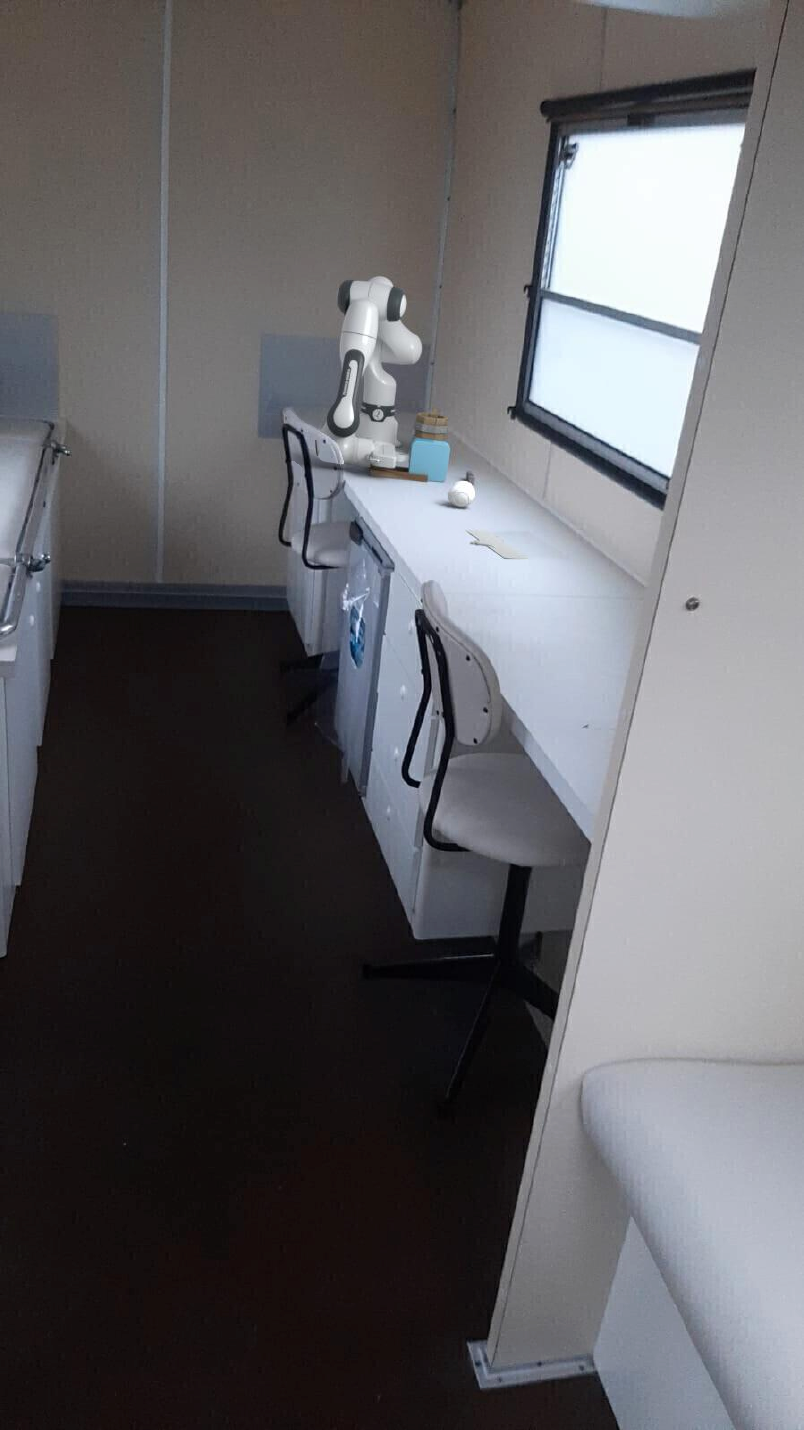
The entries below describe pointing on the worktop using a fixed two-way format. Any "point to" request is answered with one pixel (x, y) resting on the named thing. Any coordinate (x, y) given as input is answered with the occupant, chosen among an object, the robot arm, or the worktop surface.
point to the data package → (429, 459)
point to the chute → (407, 474)
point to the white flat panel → (496, 544)
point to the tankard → (430, 426)
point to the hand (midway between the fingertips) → (409, 458)
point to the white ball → (461, 494)
